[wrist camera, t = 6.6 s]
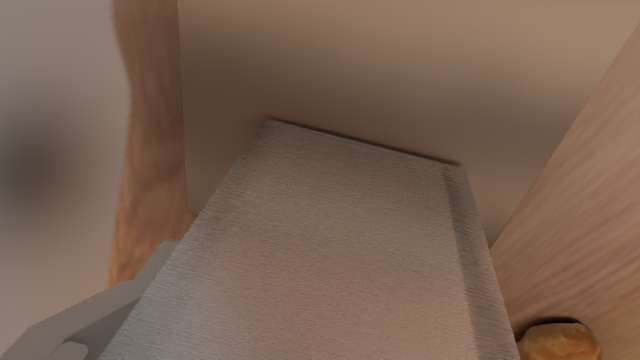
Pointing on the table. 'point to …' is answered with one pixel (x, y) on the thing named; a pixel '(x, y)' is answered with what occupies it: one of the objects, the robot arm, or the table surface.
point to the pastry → (559, 343)
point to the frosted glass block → (326, 263)
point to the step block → (397, 81)
